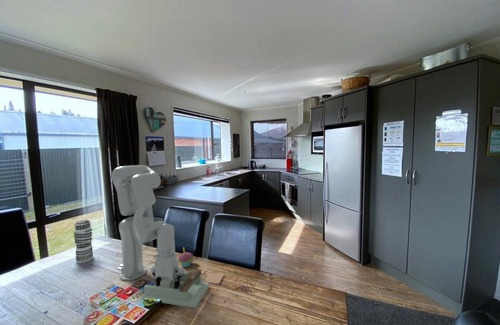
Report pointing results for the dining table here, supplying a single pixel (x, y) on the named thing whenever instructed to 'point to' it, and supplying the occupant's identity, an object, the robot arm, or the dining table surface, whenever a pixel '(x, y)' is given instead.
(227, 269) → the dining table surface
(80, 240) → the stacked grey column
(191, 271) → the latch bar
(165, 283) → the cream block
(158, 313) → the dining table surface
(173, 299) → the puzzle board
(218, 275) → the terracotta coaster
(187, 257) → the cupcake
